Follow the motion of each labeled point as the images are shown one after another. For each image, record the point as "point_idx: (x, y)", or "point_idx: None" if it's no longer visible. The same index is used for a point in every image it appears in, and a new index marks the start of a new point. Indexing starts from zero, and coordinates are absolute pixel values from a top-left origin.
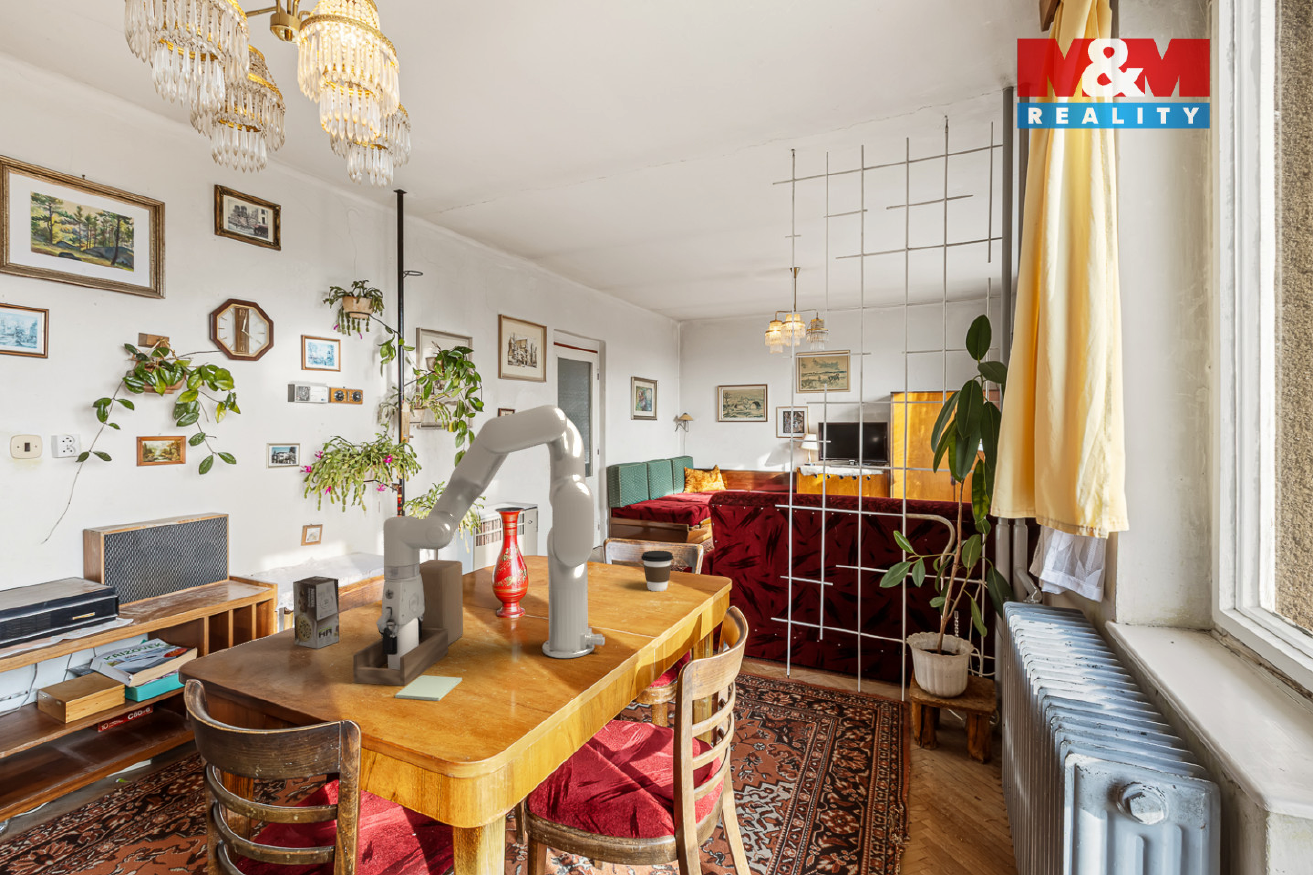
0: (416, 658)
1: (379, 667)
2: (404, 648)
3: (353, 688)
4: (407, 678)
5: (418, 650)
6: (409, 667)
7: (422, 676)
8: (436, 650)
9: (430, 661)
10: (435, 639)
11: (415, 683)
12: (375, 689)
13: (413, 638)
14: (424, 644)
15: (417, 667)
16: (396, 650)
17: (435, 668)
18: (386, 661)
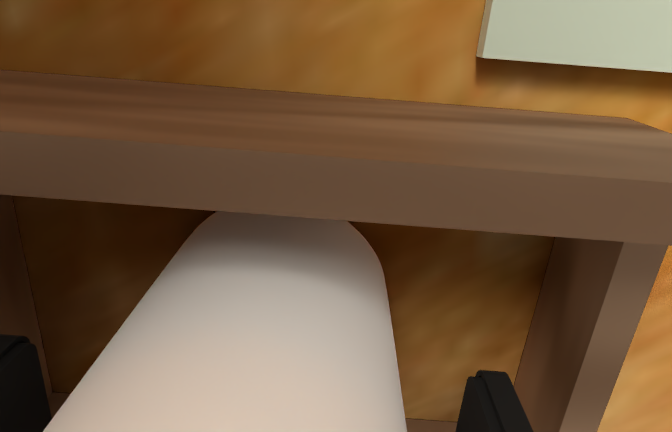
0: (505, 140)
1: None
2: (383, 355)
3: (611, 411)
4: (607, 124)
5: (481, 158)
6: (622, 140)
7: (513, 30)
8: (94, 96)
9: (236, 94)
10: (31, 124)
11: (665, 20)
12: (651, 290)
13: (284, 359)
14: (323, 155)
15: (460, 117)
16: (510, 396)
17: (273, 24)
18: None
